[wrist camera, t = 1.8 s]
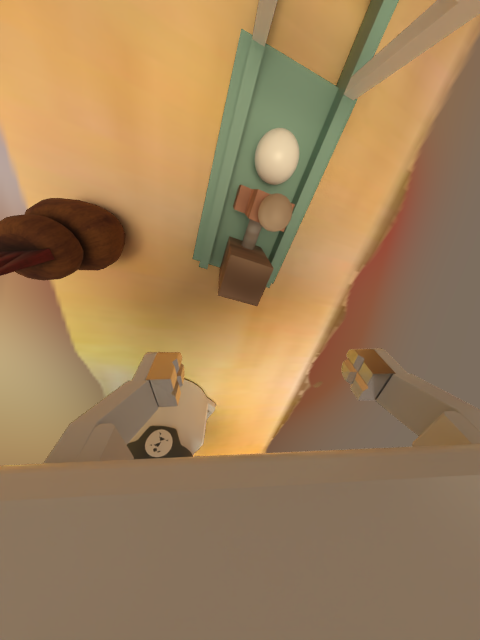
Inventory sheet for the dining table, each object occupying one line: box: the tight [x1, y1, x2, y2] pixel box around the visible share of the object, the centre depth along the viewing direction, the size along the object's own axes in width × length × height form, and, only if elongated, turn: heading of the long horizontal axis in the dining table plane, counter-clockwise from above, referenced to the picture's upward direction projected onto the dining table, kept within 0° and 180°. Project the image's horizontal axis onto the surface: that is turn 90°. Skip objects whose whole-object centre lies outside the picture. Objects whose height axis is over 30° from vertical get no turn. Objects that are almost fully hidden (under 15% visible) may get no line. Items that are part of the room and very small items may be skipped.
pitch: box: [193, 0, 480, 288], centre depth 15 cm, size 25×11×14 cm, turn 161°
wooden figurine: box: [0, 198, 125, 280], centre depth 17 cm, size 7×6×15 cm
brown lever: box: [218, 185, 295, 306], centre depth 19 cm, size 9×5×10 cm, turn 161°
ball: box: [255, 128, 299, 185], centre depth 18 cm, size 4×4×4 cm
